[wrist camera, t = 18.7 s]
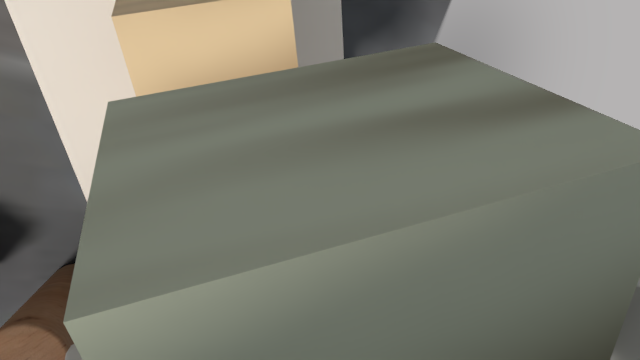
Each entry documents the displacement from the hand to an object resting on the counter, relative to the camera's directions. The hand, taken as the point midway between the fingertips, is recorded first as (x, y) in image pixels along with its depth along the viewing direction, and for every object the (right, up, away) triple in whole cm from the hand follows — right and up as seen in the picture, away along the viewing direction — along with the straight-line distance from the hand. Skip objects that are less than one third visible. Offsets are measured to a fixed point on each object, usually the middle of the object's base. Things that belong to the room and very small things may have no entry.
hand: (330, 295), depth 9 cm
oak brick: (-5, +7, +13) cm, 16 cm away
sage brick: (-1, +1, +1) cm, 2 cm away
